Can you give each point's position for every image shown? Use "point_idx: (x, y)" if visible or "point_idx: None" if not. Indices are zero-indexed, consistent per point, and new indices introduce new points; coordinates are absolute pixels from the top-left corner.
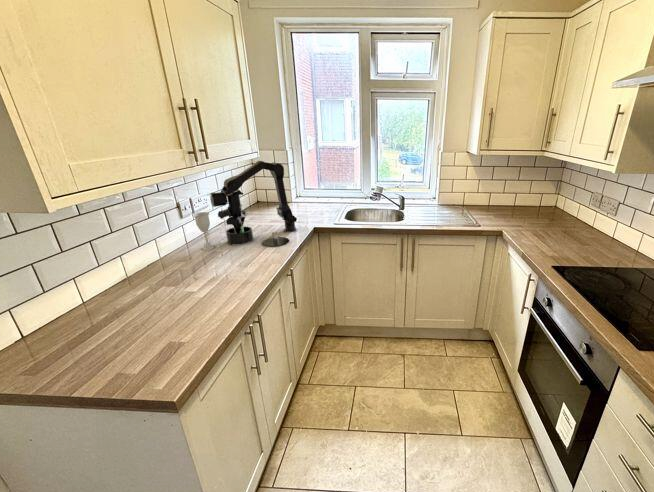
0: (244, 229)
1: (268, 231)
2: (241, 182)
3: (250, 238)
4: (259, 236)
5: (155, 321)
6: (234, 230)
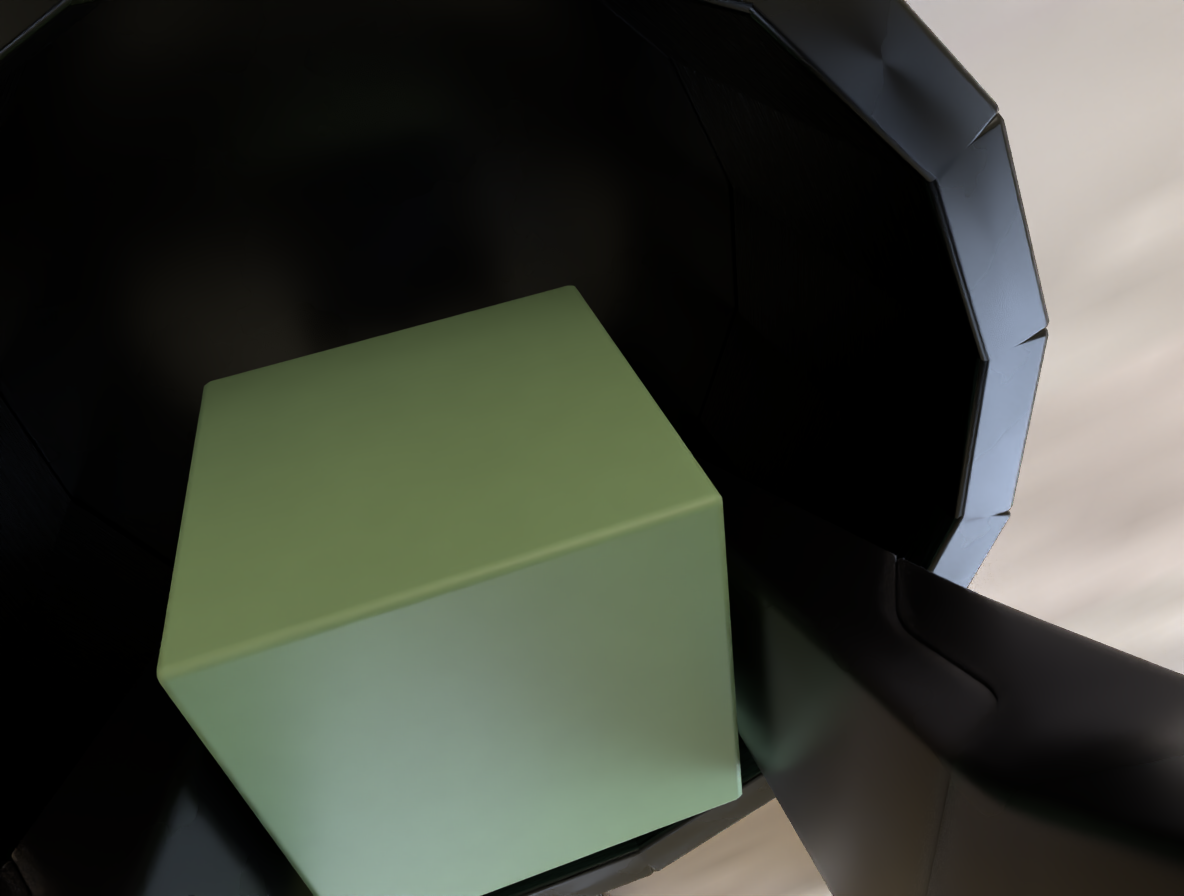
0: (871, 475)
1: (1059, 579)
2: None
3: None
4: None
5: None
6: (188, 573)
